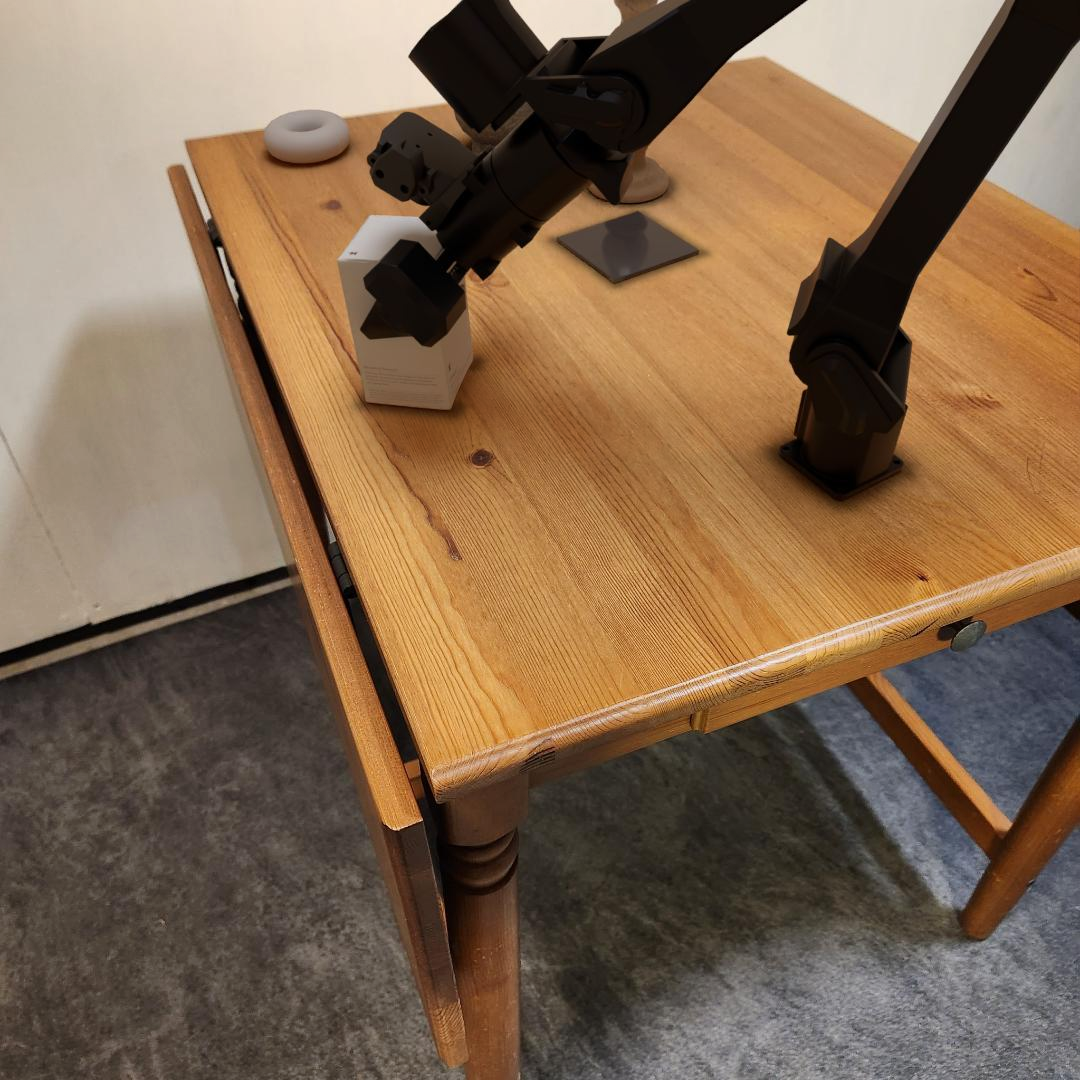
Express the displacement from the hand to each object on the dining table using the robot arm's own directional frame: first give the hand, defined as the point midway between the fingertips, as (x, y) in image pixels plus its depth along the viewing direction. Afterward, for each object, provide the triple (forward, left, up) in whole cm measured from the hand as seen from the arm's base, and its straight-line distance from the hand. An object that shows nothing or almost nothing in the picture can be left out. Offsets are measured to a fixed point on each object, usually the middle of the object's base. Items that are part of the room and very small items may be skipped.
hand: (391, 303), depth 72 cm
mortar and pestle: (+35, -29, -7) cm, 46 cm away
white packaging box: (-1, -1, -7) cm, 7 cm away
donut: (+48, -11, -7) cm, 50 cm away
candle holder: (+19, -36, -7) cm, 42 cm away
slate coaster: (+8, -28, -7) cm, 30 cm away
